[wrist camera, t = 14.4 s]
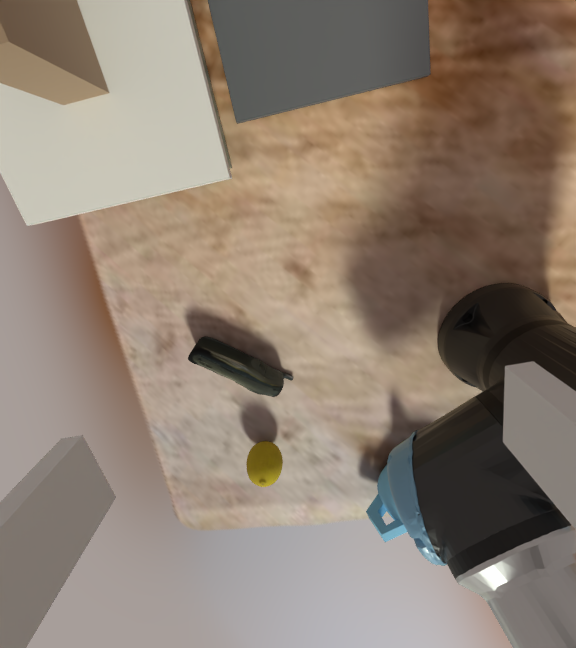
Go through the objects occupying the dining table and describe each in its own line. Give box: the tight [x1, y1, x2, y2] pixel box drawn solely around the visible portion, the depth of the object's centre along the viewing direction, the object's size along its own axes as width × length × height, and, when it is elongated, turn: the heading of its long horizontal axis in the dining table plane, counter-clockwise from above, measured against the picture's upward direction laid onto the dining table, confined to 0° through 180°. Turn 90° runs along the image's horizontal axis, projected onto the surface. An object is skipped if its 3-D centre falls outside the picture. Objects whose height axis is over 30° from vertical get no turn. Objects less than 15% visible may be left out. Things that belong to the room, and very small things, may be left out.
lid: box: [0, 0, 232, 226], centre depth 18 cm, size 17×21×10 cm
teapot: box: [366, 465, 407, 542], centre depth 52 cm, size 15×15×11 cm
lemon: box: [247, 441, 283, 487], centre depth 51 cm, size 6×6×8 cm
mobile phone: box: [188, 337, 293, 397], centre depth 47 cm, size 5×3×15 cm
